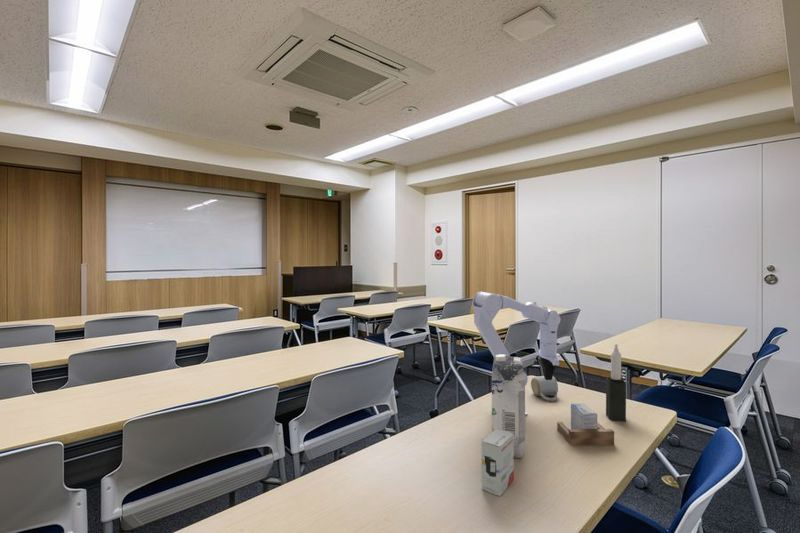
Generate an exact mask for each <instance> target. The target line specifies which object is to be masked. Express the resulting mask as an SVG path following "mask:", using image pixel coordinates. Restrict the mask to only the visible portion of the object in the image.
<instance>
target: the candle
mask: <svg viewBox="0 0 800 533" xmlns="http://www.w3.org/2000/svg"><path fill="white" fill-rule="evenodd" d="M618 346H619V345H618V344H617V343H616V344H614V348H613V350H612V352H611V353H610V376H608V377H606V378H605V416H607V418H608V419H609V420H610V421H614V422H615V421H617V422H626V421H627V382H626V381H625V378H623V377H622V354H621V352H620V351H619V348H618Z"/></svg>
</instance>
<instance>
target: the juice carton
mask: <svg viewBox="0 0 800 533" xmlns="http://www.w3.org/2000/svg"><path fill="white" fill-rule="evenodd" d="M524 372H525V371H524V365H523V359H522V357H520V356H511V355H510V356H506V355H504V354H499V355H496V356H495V357H493V364H492V371H491V433H492V432H493V431H494V430H495V429H500V430H503V431H507V432H511V433H513V434H514V459H516V458H517V459H522V458H523V454H524V450H525V445H526V415H525V411H526V386H525V375H524Z"/></svg>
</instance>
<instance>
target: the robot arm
mask: <svg viewBox="0 0 800 533" xmlns="http://www.w3.org/2000/svg"><path fill="white" fill-rule="evenodd" d="M471 306H472V308H473V320H474V321H473V322H474V325H475V327H476V329H477V330H478V332H479V333H480V336H481V338H482V339H483V341H484V343H485V344H486V346H487V349H488V350H489V351H490V354H491V355H492V356H493V358H494V357H495V356H496V355H499V354H504V355H506V356H510V357H511V355H510V353H509V352H508V350H507V348H506V346H505V344H504V342H503V341H502V339H501V337H500V335H499V334H498V332H497V330H496V328H495V326H494V324H493V320H494V319H495V317H496V316H497V314H498V313H499V311H501V310H503V309H505V308H508V309H511V310H513V311H517V312H520V313H521V315H522V317H523V318H525V319H529V320H532V321H533V322H537V323H538V324H539V349H538V355H539V357H540V358H538V362H539V364H540V366H541V369H542V373H543V376H544V378H545V379H546V380H552V377H553V376H554V372H555V370H556V368H557V366H560V359H559V358H560V357H561V355H560V354H559V353H558V349H557V348H558V347H557V346H558V330H559V325H560V323H561V321H562V320H561V319H562V318H561V317H560V315H559V313H558V311H556V310H554V309H549V308H548V307H547V306H545V305H539V304H537V301H533V300H532V301H527V302H526V303H523V302H521V301H518V300H516V299H514V298H512V297H509V296H506V295H502V294H497V293H490V292H485V291H478V292H477V293H476V294H475V295H474V297H473V300H472V302H471ZM524 375H525V387H526V385H527V384H528V379H529V378H528V374H527V373H526V372H525V371H524ZM527 415H528V413H527V411H526V410H525V416H527Z"/></svg>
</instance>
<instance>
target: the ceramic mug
mask: <svg viewBox="0 0 800 533" xmlns="http://www.w3.org/2000/svg"><path fill="white" fill-rule="evenodd" d="M530 381H531V382H530V387H531V391H532V393H533V394H534V395H535V396H537V397H541V398H542V399H543V400H545V401H547V402H554V401H556V400H557V399H558V393H559V385H558V381H557V379H556V377H555V376H554V375H553V377H552V380H546V379H545V378H544V375H541V376H540V375H539V376H534V377H532V379H531V380H530ZM549 396H550V397H549ZM552 396H554V397H552Z"/></svg>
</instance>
